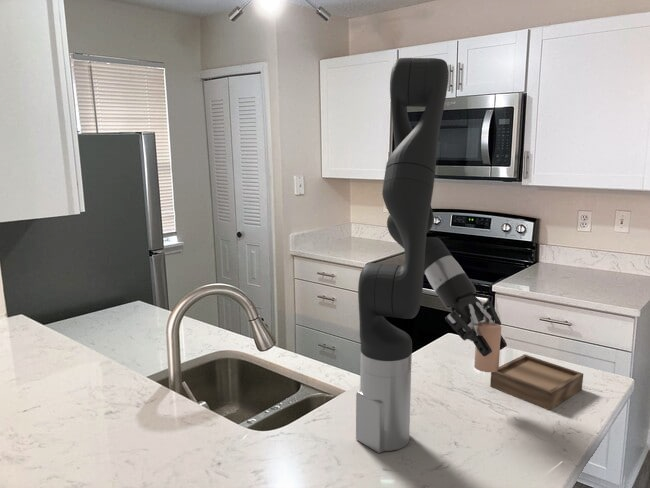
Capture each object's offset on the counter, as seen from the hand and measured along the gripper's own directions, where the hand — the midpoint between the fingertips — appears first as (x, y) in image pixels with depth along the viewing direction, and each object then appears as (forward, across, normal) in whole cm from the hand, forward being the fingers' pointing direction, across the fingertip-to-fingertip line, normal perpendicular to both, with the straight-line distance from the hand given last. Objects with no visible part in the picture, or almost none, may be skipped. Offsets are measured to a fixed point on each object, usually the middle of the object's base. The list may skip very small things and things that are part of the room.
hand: (495, 350), depth 108 cm
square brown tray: (+9, +16, +8) cm, 20 cm away
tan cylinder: (+2, 0, +4) cm, 5 cm away
